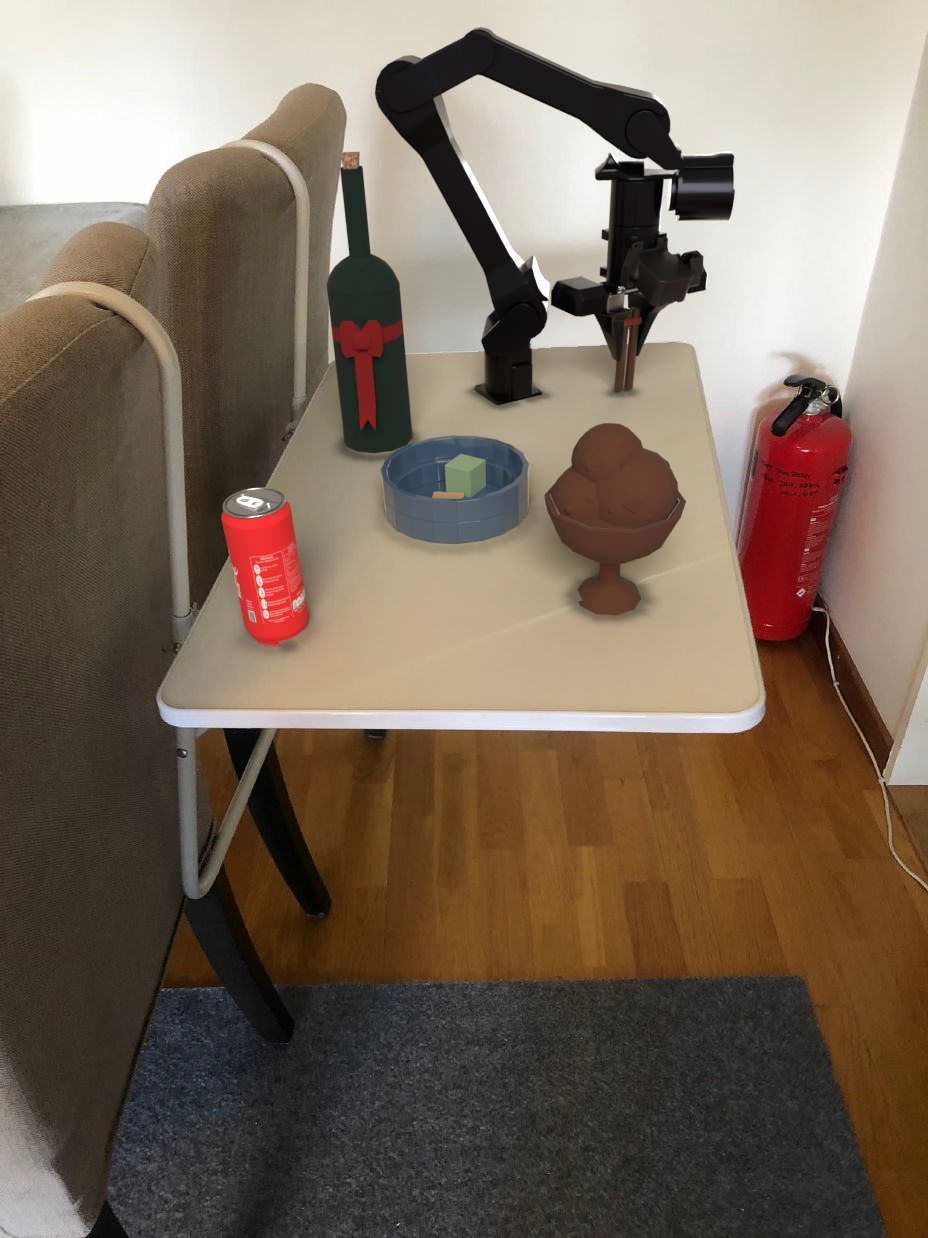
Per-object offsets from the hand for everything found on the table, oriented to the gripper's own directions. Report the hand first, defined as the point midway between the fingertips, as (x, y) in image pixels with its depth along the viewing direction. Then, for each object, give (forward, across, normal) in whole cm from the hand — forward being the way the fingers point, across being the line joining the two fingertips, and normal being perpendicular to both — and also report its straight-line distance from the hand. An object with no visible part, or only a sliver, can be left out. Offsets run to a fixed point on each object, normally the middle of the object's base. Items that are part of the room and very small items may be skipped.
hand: (625, 357), depth 112 cm
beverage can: (+5, -54, -26) cm, 60 cm away
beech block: (+4, -35, -19) cm, 40 cm away
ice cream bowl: (+5, -28, -36) cm, 46 cm away
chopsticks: (+4, 0, 0) cm, 4 cm away
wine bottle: (+5, -33, +2) cm, 33 cm away
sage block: (+4, -29, -13) cm, 32 cm away
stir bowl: (+4, -32, -16) cm, 36 cm away
